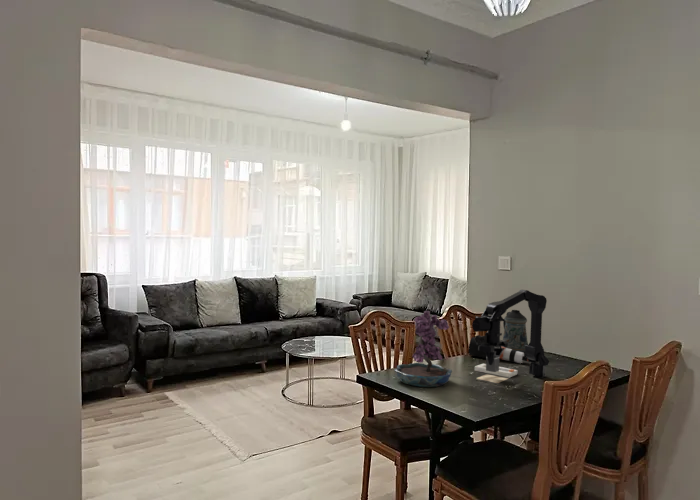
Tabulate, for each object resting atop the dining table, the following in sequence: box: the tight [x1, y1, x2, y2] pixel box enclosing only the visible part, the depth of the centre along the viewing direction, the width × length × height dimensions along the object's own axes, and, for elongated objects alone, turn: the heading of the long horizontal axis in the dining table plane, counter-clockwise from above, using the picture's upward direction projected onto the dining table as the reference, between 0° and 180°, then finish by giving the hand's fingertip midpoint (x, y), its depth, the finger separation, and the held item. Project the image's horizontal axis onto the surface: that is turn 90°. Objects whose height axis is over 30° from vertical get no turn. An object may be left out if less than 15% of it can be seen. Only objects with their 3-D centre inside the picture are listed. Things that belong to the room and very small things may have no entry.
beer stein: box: [502, 309, 529, 356], centre depth 310 cm, size 16×19×25 cm
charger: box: [485, 355, 500, 372], centre depth 249 cm, size 4×4×7 cm
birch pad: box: [475, 373, 509, 386], centre depth 249 cm, size 11×11×1 cm
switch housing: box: [474, 363, 518, 379], centre depth 261 cm, size 18×9×4 cm, turn 49°
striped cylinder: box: [467, 336, 528, 364], centre depth 292 cm, size 10×34×10 cm, turn 56°
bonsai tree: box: [393, 310, 453, 388], centre depth 246 cm, size 35×27×33 cm
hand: (492, 364), depth 249 cm, fingers closed on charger, 4 cm apart
